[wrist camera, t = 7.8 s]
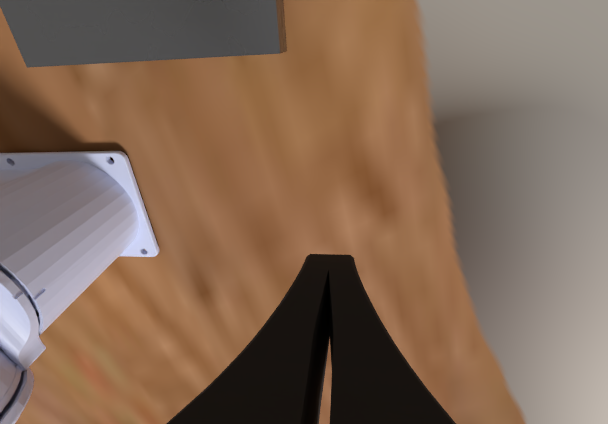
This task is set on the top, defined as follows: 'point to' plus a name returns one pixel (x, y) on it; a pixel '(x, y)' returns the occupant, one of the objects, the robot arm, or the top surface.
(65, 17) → the console
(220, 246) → the top surface
